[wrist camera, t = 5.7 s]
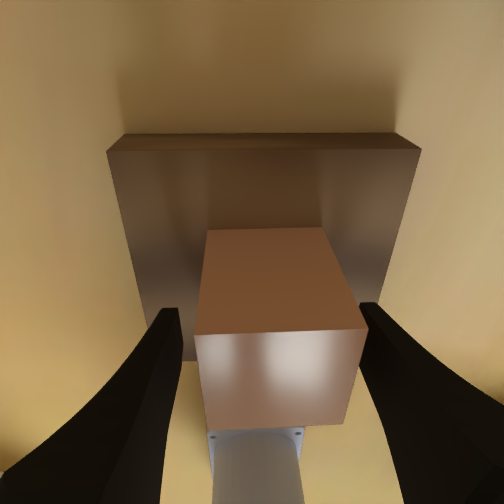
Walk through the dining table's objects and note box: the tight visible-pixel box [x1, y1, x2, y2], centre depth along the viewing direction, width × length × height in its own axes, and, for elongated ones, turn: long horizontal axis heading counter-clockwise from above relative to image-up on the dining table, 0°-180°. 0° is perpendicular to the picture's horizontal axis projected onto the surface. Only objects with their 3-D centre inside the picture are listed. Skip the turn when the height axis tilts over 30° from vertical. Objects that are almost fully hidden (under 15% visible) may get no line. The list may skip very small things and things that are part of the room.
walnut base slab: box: [106, 133, 422, 361], centre depth 17 cm, size 12×12×2 cm
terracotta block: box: [194, 227, 368, 431], centre depth 13 cm, size 5×5×6 cm
